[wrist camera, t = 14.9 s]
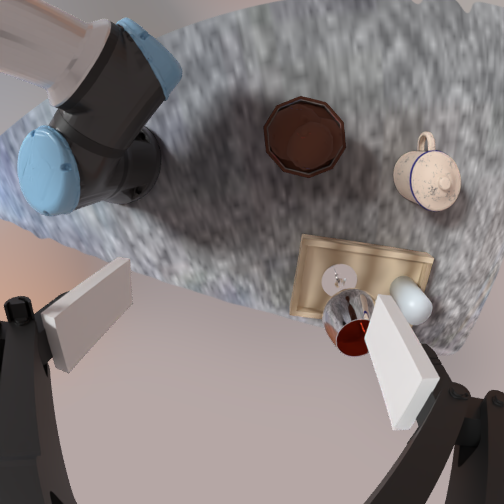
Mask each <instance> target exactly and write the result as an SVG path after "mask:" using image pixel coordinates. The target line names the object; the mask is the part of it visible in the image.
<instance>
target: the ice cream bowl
mask: <svg viewBox="0 0 504 504" xmlns="http://www.w3.org/2000/svg"><path fill="white" fill-rule="evenodd" d="M264 137H265V146H266V153H267V154H268V155H269V156H270V157H271V158H272V159H273V161H274V162H275V163H276V164H277V165H278V166H279V167H280V168H281V170H282V171H283V172H287V173H291V174H295V175H299V176H303V177H307V178H310V177H313V176H315V175H318V174H321V173H323V172H326V171H328V170H331V169H333V168H334V166H335V164H336V163H337V161H338V160H339V158H340V156H341V155H342V153H343V152H344V150H345V148H346V142H345V131H344V122H343V121H342V120H341V119H340V117H339V116H338V115H337V114H336V113H335V112H334V111H333V109H332V108H331V107H330V106H329V105H328V104H327V103H326V102H323V101H319V100H315V99H311V98H307V97H303V96H300V97H297V98H294V99H292V100H289V101H287V102H284V103H281V104H279V105H277V106H276V107H275V109H274V111H273V112H272V114H271V115H270V117H269V119H268V120H267V122H266V124H265V125H264Z"/></svg>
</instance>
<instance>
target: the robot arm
mask: <svg viewBox="0 0 504 504" xmlns="http://www.w3.org/2000/svg"><path fill="white" fill-rule="evenodd" d="M0 72H1V73H3V74H6V75H9V76H12V77H15V78H18V79H20V80H23V81H26V82H29V83H31V84H34V85H37V86H39V87H43V88H45V89H46V91H47V94H48V98H49V102H50V104H51V105H52V106H54V107H56V108H58V110H57V111H56V113H55V115H54V117H53V118H52V120H51V122H50V124H49V125H48V126H40V127H38V128H37V129H36V130H33V131H31V132H30V133H29V134H28V135H27V136H26V138H25V139H24V141H23V143H22V145H21V148H20V151H19V155H18V164H17V169H18V177H19V183H20V187H21V190H22V193H23V195H24V197H25V199H26V200H27V202H28V203H29V204H30V206H31V207H32V208H33V209H34V210H35V211H37V212H38V213H40V214H42V215H45V216H56V215H60V214H69V213H71V212H73V211H74V210H77V209H79V208H82V207H85V206H88V205H91V204H94V203H97V202H100V201H107V202H110V203H115V204H125V203H129V202H132V201H135V200H138V199H140V198H141V197H143V196H144V195H146V194H147V193H148V192H149V191H150V190H151V188H152V187H153V185H154V184H155V182H156V180H157V178H158V175H159V171H160V165H161V154H160V149H159V145H158V143H157V141H156V139H155V137H154V135H153V134H152V133H151V132H150V131H149V130H148V129H147V128H146V127H145V124H146V123H147V122H148V120H149V119H150V118H151V116H152V115H153V114H154V113H155V111H156V110H157V109H158V107H159V106H160V105H161V104H162V102H163V101H166V100H167V99H168V97H169V94H170V93H171V91H172V90H173V89H174V88H175V86H176V85H177V84H178V83H179V81H180V80H181V77H182V68H181V66H180V64H179V63H178V61H177V60H176V59H175V58H174V57H173V55H172V54H171V53H170V52H169V51H168V50H167V49H166V48H165V47H164V46H163V45H162V44H161V43H160V42H158V41H157V40H156V39H155V38H154V37H153V36H151V35H149V34H148V32H147V31H145V30H144V29H143V28H142V27H141V26H139V25H138V24H137V23H136V22H134V21H133V20H131V19H129V18H123V19H122V20H120V21H118V22H117V23H116V24H114V23H112V22H111V21H109V20H107V19H101V20H97V21H94V22H90V23H86V22H84V21H82V20H80V19H78V18H76V17H74V16H73V15H71V14H69V13H67V12H65V11H63V10H61V9H59V8H57V7H54V6H53V5H51V4H49V3H47V2H44V1H42V0H0ZM132 304H133V302H132V287H131V268H130V259H127V258H121V257H118V258H116V259H115V260H113V261H112V262H110V263H109V264H108V265H106V266H104V267H103V268H102V269H100V270H99V271H97V272H96V273H94V274H93V275H92V276H90V277H89V278H87V279H86V280H85V281H83V282H82V283H80V284H79V285H78V286H77V287H75V288H74V289H72V290H71V291H68V292H65V293H63V294H61V295H59V296H58V297H57V298H55V299H54V300H52V301H51V302H50V303H49V304H47V305H46V306H45V307H43V308H42V309H40V310H39V311H38V312H36V313H35V314H34V313H33V309H32V304H31V300H30V299H29V298H28V297H25V296H18V297H14V298H11V299H9V300H8V301H6V302H5V304H4V308H5V312H6V316H7V319H8V322H5V321H0V504H77V503H76V501H75V499H74V496H73V493H72V490H71V486H70V483H69V479H68V476H67V472H66V468H65V464H64V460H63V455H62V451H61V446H60V441H59V436H58V431H57V425H56V419H55V412H54V405H53V397H52V389H51V379H50V368H49V365H48V361H49V360H50V359H51V358H53V360H54V364H55V367H56V368H57V369H59V370H62V371H64V372H67V373H70V371H72V369H73V368H74V367H75V366H76V365H77V364H78V363H79V361H80V360H81V359H82V358H83V357H84V356H85V355H86V354H87V353H88V351H89V350H90V349H91V348H92V347H93V346H94V345H95V344H96V343H97V341H98V340H99V339H100V338H101V337H102V336H103V335H104V334H105V333H106V332H107V331H108V330H109V328H110V327H111V326H112V325H113V324H114V323H115V322H116V321H117V320H118V319H119V318H120V317H121V316H122V315H123V314H124V312H125V311H126V310H127V309H128V308H129V307H130V306H131V305H132ZM364 339H365V342H366V345H367V348H368V351H369V354H370V357H371V360H372V363H373V366H374V369H375V372H376V375H377V378H378V381H379V384H380V388H381V391H382V394H383V398H384V401H385V404H386V407H387V411H388V414H389V418H390V421H391V425H392V429H393V430H406V429H410V428H411V426H412V425H413V423H414V422H415V420H417V423H418V426H419V427H418V428H417V430H416V431H415V433H414V434H413V436H412V437H411V438H410V440H409V441H408V443H407V446H406V447H405V449H404V450H403V452H402V453H401V455H400V456H399V458H398V459H397V461H396V462H395V464H394V465H393V466H392V468H391V469H390V471H389V472H388V473H387V475H386V476H385V478H384V479H383V480H382V482H381V483H380V484H379V485H378V487H377V488H376V489H375V491H374V492H373V493H372V494H371V496H370V497H369V498H368V499H367V501H366V502H365V503H364V504H425V503H426V501H427V499H428V498H429V496H430V494H431V492H432V490H433V488H434V486H435V485H436V483H437V481H438V479H439V477H440V475H441V473H442V471H443V469H444V467H445V464H446V462H447V460H448V458H449V456H450V453H451V451H452V449H453V446H454V445H455V447H454V454H453V462H452V470H451V475H450V481H449V486H448V492H447V497H446V501H445V504H504V393H503V392H500V391H498V390H491V391H489V392H488V393H487V395H486V396H485V398H484V399H480V398H474V397H471V395H470V392H469V391H468V390H467V388H465V387H464V386H463V385H461V384H458V383H455V382H452V381H451V379H450V377H449V375H448V374H447V372H446V370H445V369H444V367H443V366H442V365H441V362H440V360H439V359H438V357H437V355H436V353H435V352H434V350H433V349H431V348H430V347H429V346H428V345H427V344H421V343H420V342H419V340H418V338H417V337H416V335H415V333H414V332H413V330H412V328H411V327H410V325H409V323H408V322H407V320H406V318H405V317H404V315H403V313H402V312H401V310H400V309H399V307H398V305H397V304H396V302H395V301H394V299H393V298H392V296H391V295H382V294H378V296H377V300H376V303H375V306H374V310H373V313H372V316H371V319H370V323H369V326H368V329H367V332H366V335H365V338H364Z"/></svg>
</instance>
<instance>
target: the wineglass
mask: <svg viewBox="0 0 504 504" xmlns="http://www.w3.org/2000/svg"><path fill="white" fill-rule="evenodd" d="M321 284H322V288H323V290H324V291H325V292H326V293H327V294H328V295H330V296H331V297H330V299H329V300H328V301H327V303H326V304H325V307H324V309H323V314H322V322H323V326H324V329H325V331H326V333H327V335H328V336H329V338H330V339H331V341H332V342H333V343H334V345H335V346H336V347H337V349H338V350H339V351H340V352H341V353H342V354H344V355H346V356H349V357H359V356H363V355H365V354H367V353H369V351H368V348H367V345H366V342H365V339H364V338H365V335H366V332H367V329H368V326H369V323H370V319H371V316H372V313H373V310H374V306H375V303H376V299H375V298H374V297H373V296H372V295H371V294H370V293H369V292H367V291H365V290H363V289H360V288H355V286H356V284H357V275H356V273H355V271H354V269H353V268H352V267H350V266H349V265H346V264H341V263H340V264H334V265H332V266H330V267H329V268H327V269H326V271H325V272H324V273H323V276H322V279H321Z"/></svg>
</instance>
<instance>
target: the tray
mask: <svg viewBox="0 0 504 504" xmlns="http://www.w3.org/2000/svg"><path fill="white" fill-rule="evenodd" d="M433 260H434V258H433V257H432V256H431V255H429V254H428V253H425V252H419V251H413V250H407V249H400V248H394V247H388V246H381V245H375V244H369V243H362V242H355V241H349V240H342V239H335V238H328V237H321V236H314V235H307V234H302V237H301V243H300V250H299V256H298V262H297V268H296V274H295V280H294V286H293V292H292V298H291V303H290V315H293V316H301V317H309V318H317V319H322V314H323V309H324V307H325V304H326V303H327V301H328V300H329V299H330V297H331V296H330V295H328V294H327V293H326V292H325V291H324V290H323V288H322V284H321V279H322V276H323V273H324V272H325V271H326V269H327V268H329V267H330V266H332V265H334V264H340V263H341V264H346V265H349V266H350V267H352V268H353V269H354V271H355V273H356V275H357V284H356V286H355V288H360V289H363V290H365V291H367V292H369V293H370V294H371V295H372V296H373V297H374V298H375V299H376V300H377V296H378V294H382V295H390V285H391V283H392V282H393V281H394V280H395V279H396V278H397V277H399V276H408V277H410V278H411V279H412V280H413V281H414V282H415V283H416V285H417V286H418V287H419V288H420V289H421V290H422V292H423V293H424V291H425V288H426V285H427V281H428V278H429V275H430V271H431V268H432V264H433ZM409 325H410V327H412V326H413V325H411V324H409Z"/></svg>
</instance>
